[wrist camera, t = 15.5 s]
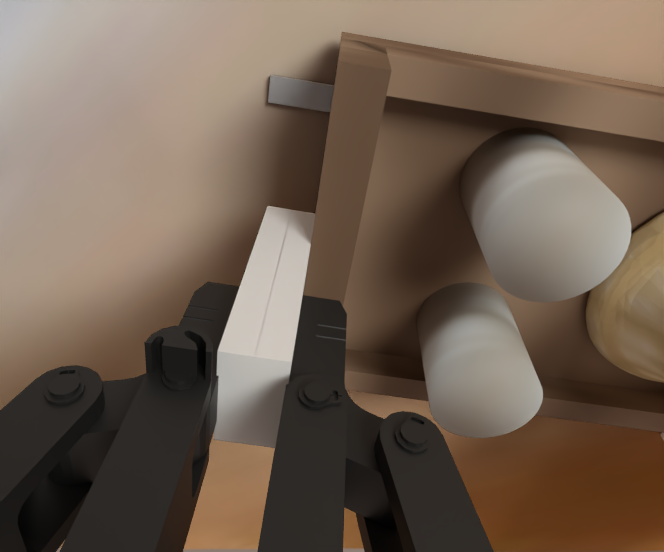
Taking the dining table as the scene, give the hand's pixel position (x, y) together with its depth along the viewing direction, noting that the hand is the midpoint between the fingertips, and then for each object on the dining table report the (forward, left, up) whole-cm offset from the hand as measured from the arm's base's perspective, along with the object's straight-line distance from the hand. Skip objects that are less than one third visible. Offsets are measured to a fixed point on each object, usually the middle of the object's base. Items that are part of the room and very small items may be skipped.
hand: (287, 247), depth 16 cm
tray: (+11, 0, -3) cm, 11 cm away
